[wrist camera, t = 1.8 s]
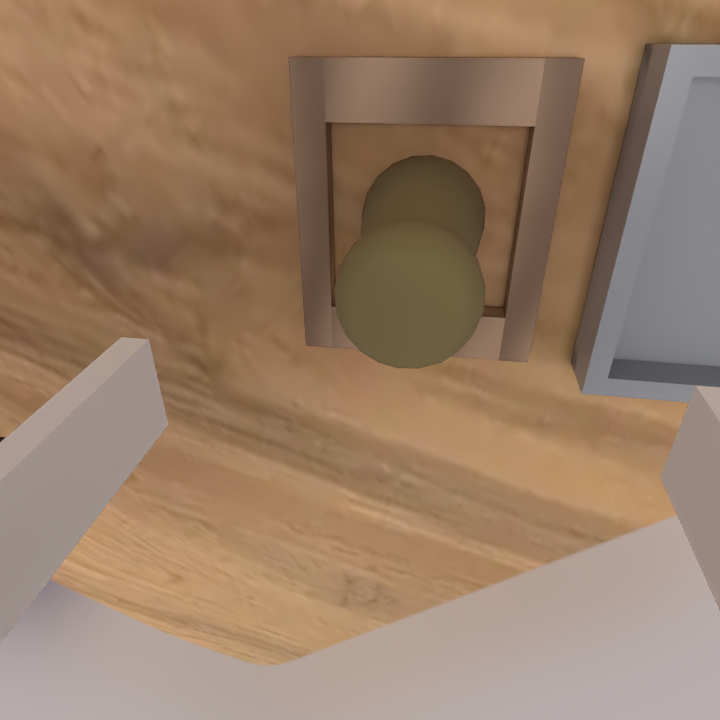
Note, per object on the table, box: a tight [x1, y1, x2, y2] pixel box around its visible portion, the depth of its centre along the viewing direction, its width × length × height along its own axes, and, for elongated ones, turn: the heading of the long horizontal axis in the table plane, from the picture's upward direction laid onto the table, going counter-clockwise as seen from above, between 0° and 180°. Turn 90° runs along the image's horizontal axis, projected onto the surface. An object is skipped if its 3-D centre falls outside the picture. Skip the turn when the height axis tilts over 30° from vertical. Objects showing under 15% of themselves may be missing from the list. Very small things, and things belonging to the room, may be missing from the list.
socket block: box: [289, 56, 585, 362], centre depth 26 cm, size 12×14×1 cm
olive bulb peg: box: [334, 155, 485, 368], centre depth 22 cm, size 6×6×11 cm
